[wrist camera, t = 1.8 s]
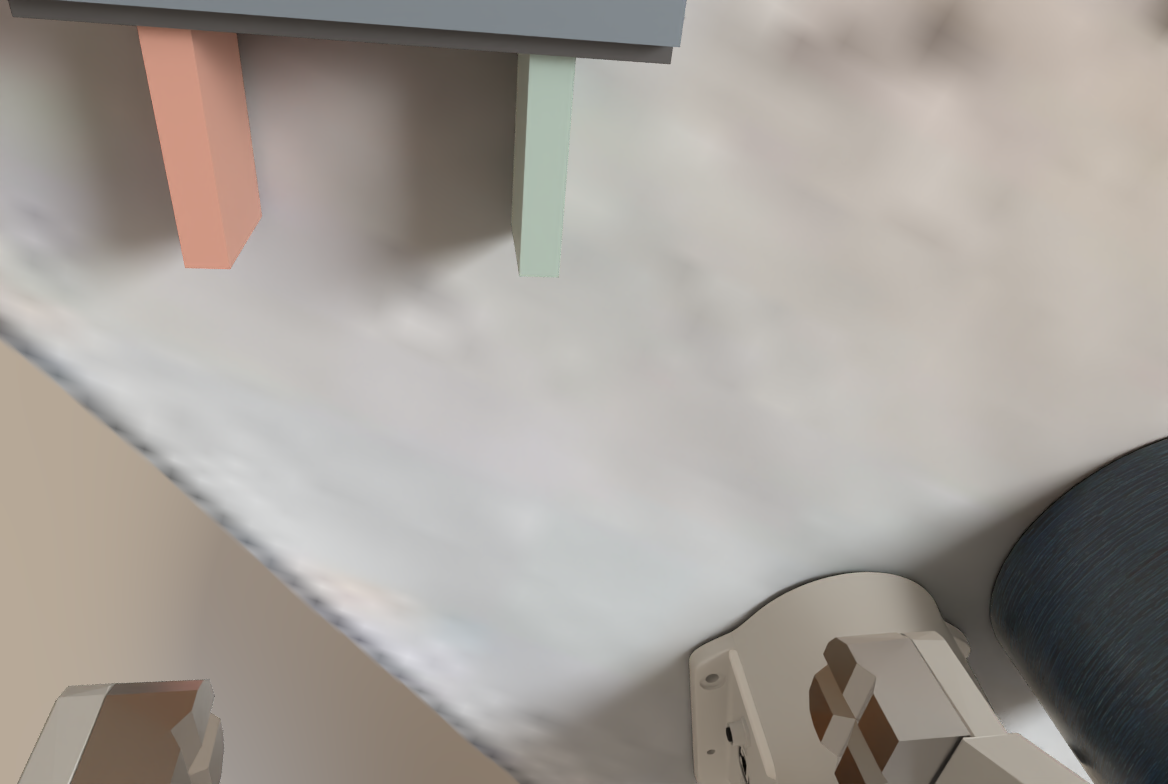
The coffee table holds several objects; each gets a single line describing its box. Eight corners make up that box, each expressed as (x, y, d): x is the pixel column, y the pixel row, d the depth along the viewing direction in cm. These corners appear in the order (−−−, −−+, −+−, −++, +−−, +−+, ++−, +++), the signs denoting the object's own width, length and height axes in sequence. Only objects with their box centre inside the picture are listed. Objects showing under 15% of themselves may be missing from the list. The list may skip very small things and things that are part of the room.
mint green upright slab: (545, 226, 32) (558, 277, 28) (511, 225, 31) (519, 276, 27) (573, -201, 24) (597, -220, 20) (528, -208, 24) (543, -228, 20)
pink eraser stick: (261, 216, 30) (230, 269, 26) (223, 214, 30) (185, 267, 26) (197, -249, 22) (138, -281, 18) (146, -256, 22) (73, -290, 18)
